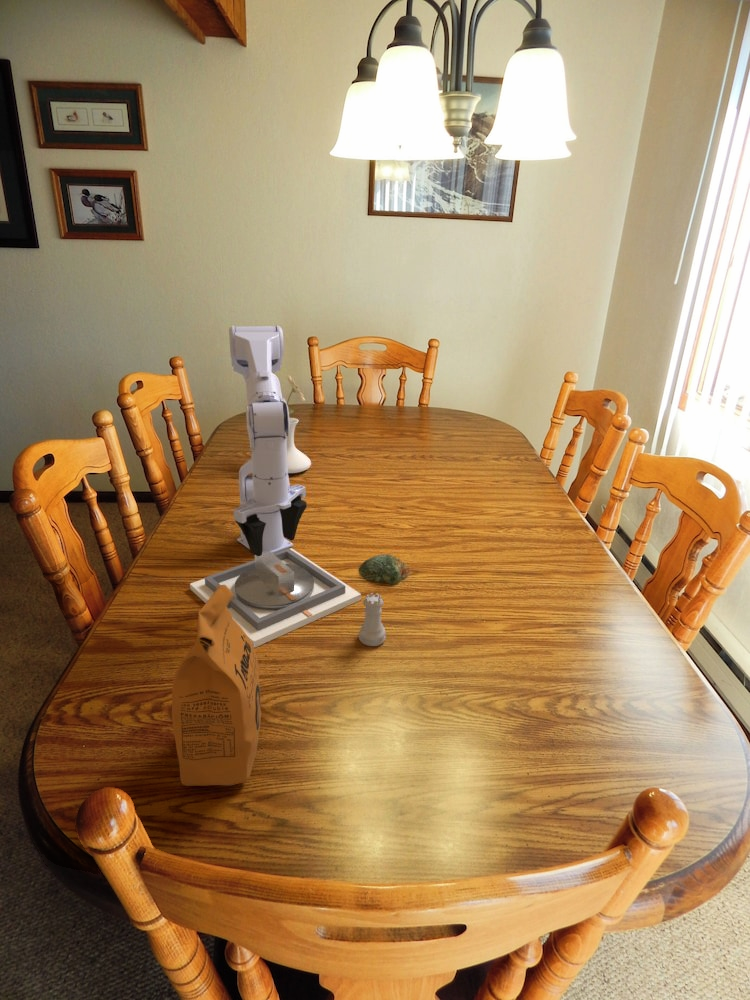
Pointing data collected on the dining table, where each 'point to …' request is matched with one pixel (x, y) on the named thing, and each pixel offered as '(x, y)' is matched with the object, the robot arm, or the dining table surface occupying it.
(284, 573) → the dial
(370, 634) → the rook chess piece
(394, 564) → the seashell
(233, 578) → the dial panel
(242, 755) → the coffee package
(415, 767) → the dining table surface
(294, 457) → the flower in vase
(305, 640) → the dining table surface
